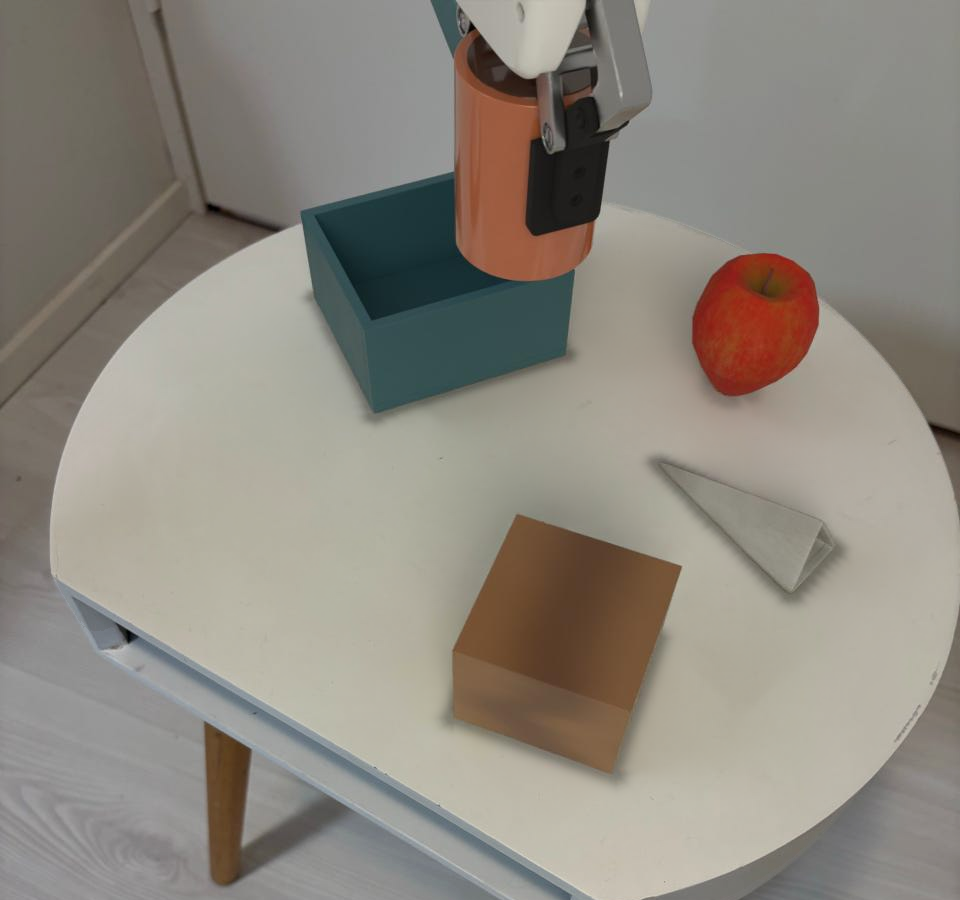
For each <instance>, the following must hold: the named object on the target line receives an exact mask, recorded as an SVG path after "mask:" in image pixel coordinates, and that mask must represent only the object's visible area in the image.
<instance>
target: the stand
mask: <svg viewBox="0 0 960 900" xmlns="http://www.w3.org/2000/svg"><path fill="white" fill-rule="evenodd" d="M490 567H491V568H490V570H489V572H488V574H487V576H486V578H485V581H484V582H483V585H482V587H481V588H480V591H479V593H478V595H477V597H476V599H475V601H474V604H473V606H472V608H471V610H470V612H469V614H468V616H467V618H466V620H465V622H464V625H463V627H462V629H461V630H460V633H459V635H458V637H457V638H456V639H457V640H456V641H455V644H454V645H453V648H452V650H451V659H452V660H451V661H452V663H451V664H452V699H453V703H452V704H453V718H455V719H457V720H459V721H462V722H465V723H468V724H471V725H473V726H476V727H479V728H481V729H485V730H488V731H491V732H493V733H495V734H499V735H502V736H504V737H507V738H510V739H513V740H515V741H517V742H521V743H524V744H527V745H530V746H532V747H535V748H538V749H541V750H543V751H546V752H549V753H551V754H555V755H557V756H559V757H563V758H565V759H569V760H571V761H574V762H576V763H579V764H582V765H585V766H588V767H590V768H593V769H597V770H599V771H601V772H604V773H607V774H611V775H612V774H613V772H614V769H615V766H616V763H617V760H618V757H619V755H620V752H621V749H622V745H623V744H624V743H623V742H624V740H625V737H626V735H627V732H628V729H629V726H630V724H631V720H632V717H633V715H634V711H635V709H636V706H637V703H638V700H639V698H640V694H641V692H642V688H643V686H644V683H645V680H646V677H647V674H648V672H649V669H650V666H651V664H652V660H653V657H654V654H655V652H656V649H657V646H658V643H659V641H660V637H661V634H662V631H663V628H664V626H665V623H666V619H667V616H668V612H669V609H670V606H671V603H672V601H673V597H674V595H675V591H676V588H677V584H678V581H679V578H680V575H681V572H682V569H683V566H682V565H680V564H677V563H674V562H671V561H668V560H664V559H661V558H658V557H655V556H652V555H649V554H645V553H642V552H639V551H636V550H633V549H629V548H626V547H624V546H620V545H617V544H614V543H612V542H611V543H610V542H607V541H604V540H601V539H598V538H595V537H591V536H589V535H585V534H582V533H580V532H576V531H573V530H569V529H567V528H563V527H560V526H557V525H553V524H551V523H547V522H545V521H541V520H538V519H535V518H533V517H532V518H531V517H528V516H525V515H522V514H519V513H516V514H515V517H514V518H513V521H512V523H511V525H510V527H509V529H508V532H507V533H506V536H505V538H504V539H503V542H502V544H501V546H500V549H499V551H498V553H497V555H496V557H495V558H494V560H493V563H492V565H491V566H490Z"/></svg>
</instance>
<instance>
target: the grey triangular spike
mask: <svg viewBox="0 0 960 900" xmlns="http://www.w3.org/2000/svg"><path fill="white" fill-rule="evenodd" d="M658 466H659V467H660V468H661V469H662V470H663V471H664V472H665V473H666V474H667V476H669V478H671V480H672V481H673V482H675V484H676V485H678V487H679V488H680V489H681V490H682V491H683V492H685V494H686V495H687V496H688V497H689V498H690V499H691V500H692V501H693V502H694V503H695V504H696V505H697V506H699V508H700V509H701V510H703V512H704V513H706V515H707V516H708V517H709V518H710V519H711V520H712V521H713V522H714V523H715V524H716V525H717V526H719V527H720V528H721V530H722V531H723V532H724V533H725V534H726V535H727V536H728V537H730V538H731V540H732V541H733V542H735V544H737V545H738V547H740V548H741V550H743V552H745V554H747V556H749V558H750V559H752V560H753V561H754V562H755V563H756V565H758V566H759V567H760V568H761V569H762V570H763V571H764V572H765V573H766V574H767V576H769V577H770V578H771V579H772V580H773V581H774V582H775V583H776V584H777V585H778V586H780V587H781V589H783V590H784V591H786V593H788V594H793V593H794V592H795V590H797V588H798V587H800V585H802V583H804V581H805V580H806V579H807V578H808V577H809V576H810V575H811V574H812V573H813V572H814V571H815V570H816V568H817V567H818V566H819V565H820V564H821V563H822V562H823V561H824V560H825V559H826V558H827V557H828V556H829V555H830V554H831V552H832V551H833V550H834V549H835V548H836V546H837V544H836V541H835V539H834V537H833V535H832V533H831V532H830V529H829V527H828V525H827V524H826V523H825V521H823V520H821V519H820V518H817V517H815V516H812V515H809V514H807V513H804V512H801V511H798V510H796V509H793V508H790V507H788V506H785V505H782V504H779V503H777V502H774V501H771V500H768V499H765V498H763V497H761V496H757V495H754V494H752V493H749V492H747V491H744V490H740V489H738V488H736V487H733V486H730V485H727V484H724V483H721V482H718V481H716V480H712V479H710V478H707V477H704V476H701V475H699V474H696V473H693V472H690V471H687V470H685V469H681V468H679V467H677V466H673V465H670V464H667V463H664V462H658Z"/></svg>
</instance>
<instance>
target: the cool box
mask: <svg viewBox="0 0 960 900" xmlns="http://www.w3.org/2000/svg"><path fill="white" fill-rule="evenodd" d="M299 213H300V219H301V225H302V226H301V227H302V231H303V238H304V244H305V250H306V257H307V262H308V269H309V275H310V281H311V287H312V292H313V298H314V300H315V302H316V303H317V306H318V307H319V311H321V314H322V316H323V317H324V320H325V321H326V324H327V325H328V328H329V329H330V331H331V333H332V336H333V337H334V339H335V341H336V343H337V346H338V347H339V349H340V351H341V353H342V354H343V356H344V359H345V360H346V362H347V364H348V367H349V368H350V370H351V372H352V374H353V376H354V378H355V380H356V382H357V383H358V386H359V387H360V390H361V391H362V393H363V395H364V397H365V399H366V401H367V403H368V405H369V408H370V410H371V411H372V413H373V414H379V413H382V412H384V411H388V410H391V409H395V408H398V407H401V406H404V405H407V404H411V403H414V402H418V401H421V400H424V399H426V398H427V399H428V398H430V397H433V396H437V395H440V394H444V393H446V392H450V391H453V390H457V389H459V388H463V387H466V386H470V385H473V384H475V383H476V384H477V383H480V382H483V381H486V380H488V379H492V378H496V377H498V376H499V377H500V376H502V375H505V374H508V373H511V372H515V371H518V370H521V369H525V368H528V367H532V366H534V365H538V364H540V363H545V362H547V361H550V360H553V359H556V358H560V357H563V356H564V357H565V356H566V354H567V353H566V352H567V346H568V335H569V327H570V319H571V310H572V301H573V293H574V283H575V274H576V269H575V268H574V269H573V270H571V271H569V272H567V273H565V274H563V275H560V276H557V277H554V278H550V279H546V280H538V281H515V280H509V279H504V278H500V277H496V276H493V275H491V274H488V273H486V272H484V271H482V270H480V269H478V268H477V267H475V266H474V265H472V264H471V263H470V262H469V261H468V260H467V259H466V258H465V257H464V256H463V255H462V253H461V252H460V250H459V248H458V246H457V244H456V241H455V233H454V171H450V172H446V173H443V174H439V175H435V176H431V177H427V178H422V179H419V180H415V181H412V182H407V183H403V184H399V185H395V186H391V187H388V188H383V189H380V190H375V191H372V192H369V193H368V192H367V193H364V194H360V195H356V196H353V197H349V198H345V199H340V200H337V201H332V202H328V203H325V204H322V205H318V206H314V207H310V208H306V209H302V210H300V211H299Z"/></svg>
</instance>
